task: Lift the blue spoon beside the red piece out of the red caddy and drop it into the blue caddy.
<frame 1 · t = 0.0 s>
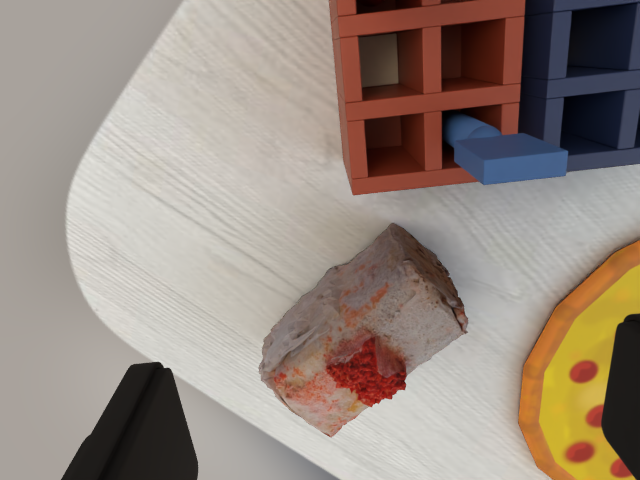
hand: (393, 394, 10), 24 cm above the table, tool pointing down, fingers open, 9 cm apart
red caddy: (402, 57, 29), on the table
blue caddy: (561, 39, 29), on the table
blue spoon: (437, 118, 30), point 1 cm above the table, touching red caddy
food item: (353, 295, 36), on the table
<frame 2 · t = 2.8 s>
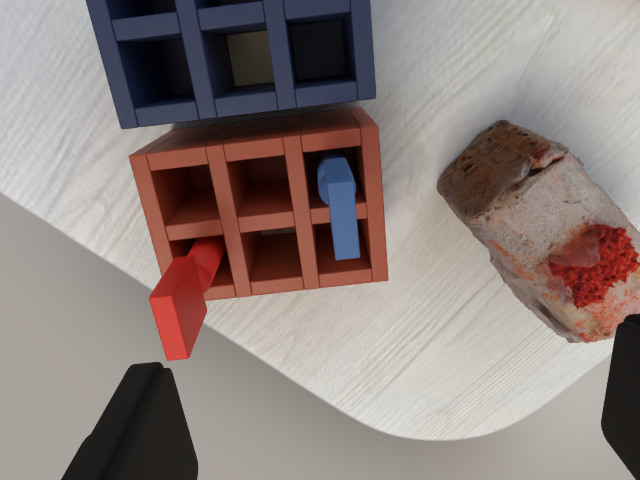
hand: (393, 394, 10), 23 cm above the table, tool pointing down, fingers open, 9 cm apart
red caddy: (275, 182, 32), on the table
red piece: (223, 219, 32), point 1 cm above the table, touching red caddy
blue caddy: (250, 24, 28), on the table
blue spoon: (329, 150, 30), point 1 cm above the table, touching red caddy
food item: (518, 214, 33), on the table
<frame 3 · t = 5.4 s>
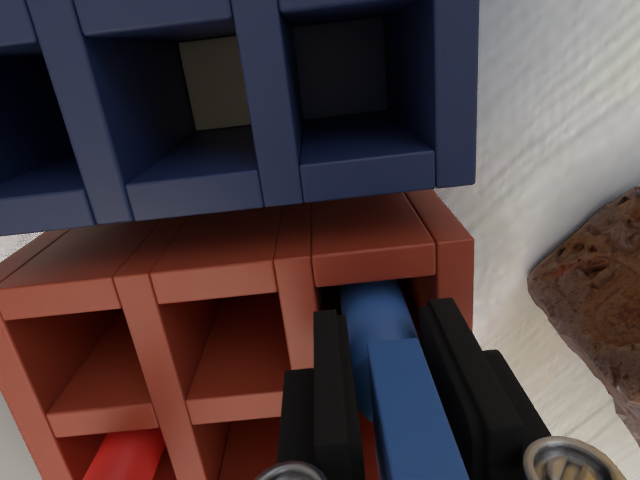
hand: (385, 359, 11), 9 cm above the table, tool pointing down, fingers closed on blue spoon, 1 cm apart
red caddy: (267, 277, 20), on the table
red piece: (183, 335, 20), point 1 cm above the table, touching red caddy
blue caddy: (223, 22, 16), on the table
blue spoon: (355, 233, 18), point 1 cm above the table, touching gripper, red caddy
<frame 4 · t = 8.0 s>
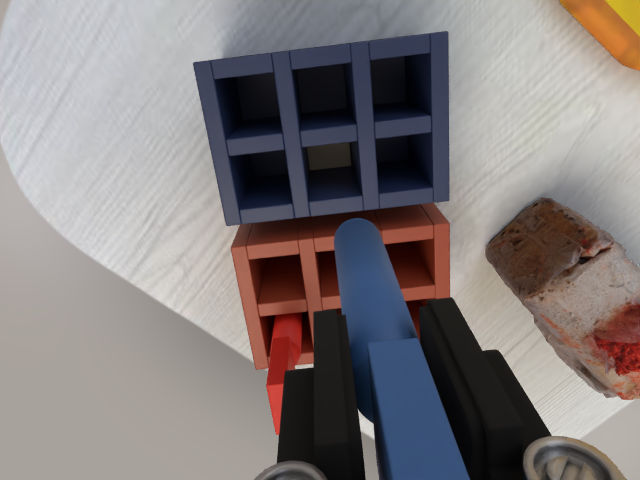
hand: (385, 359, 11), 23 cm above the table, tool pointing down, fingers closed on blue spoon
red caddy: (339, 249, 35), on the table
red piece: (291, 282, 35), point 1 cm above the table, touching red caddy
blue caddy: (324, 115, 31), on the table
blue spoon: (355, 233, 18), point 15 cm above the table, touching gripper
food item: (557, 276, 37), on the table
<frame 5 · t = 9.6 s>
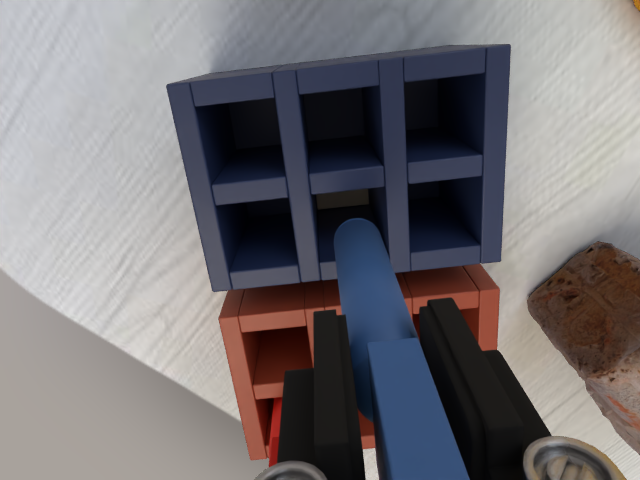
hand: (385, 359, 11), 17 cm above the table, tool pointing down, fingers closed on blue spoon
red caddy: (351, 300, 29), on the table
red piece: (294, 339, 30), point 1 cm above the table, touching red caddy
blue caddy: (336, 143, 26), on the table
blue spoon: (355, 232, 18), point 9 cm above the table, touching gripper
food item: (610, 330, 31), on the table
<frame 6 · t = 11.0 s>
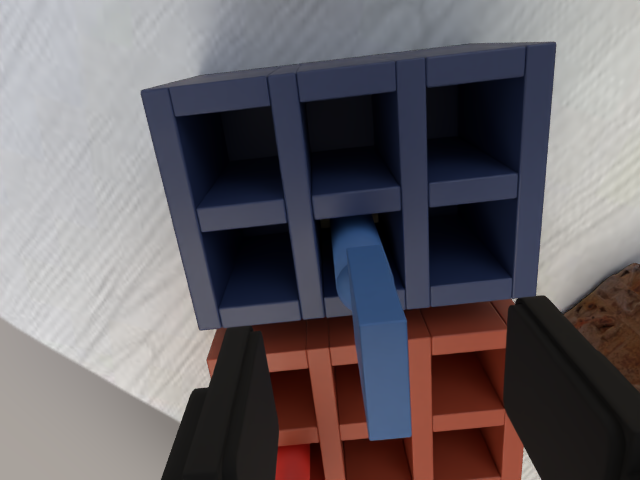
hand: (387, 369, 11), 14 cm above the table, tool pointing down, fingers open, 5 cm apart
red caddy: (358, 326, 27), on the table
red piece: (294, 369, 27), point 1 cm above the table, touching red caddy
blue caddy: (342, 154, 23), on the table
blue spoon: (346, 198, 23), point 1 cm above the table, touching blue caddy
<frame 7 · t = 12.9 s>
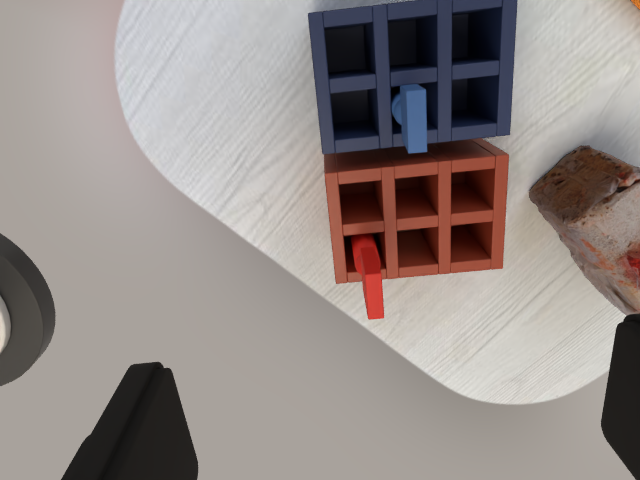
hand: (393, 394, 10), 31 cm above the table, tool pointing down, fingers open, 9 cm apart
red caddy: (400, 191, 41), on the table
red piece: (358, 219, 41), point 1 cm above the table, touching red caddy
blue caddy: (395, 70, 37), on the table
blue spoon: (397, 97, 36), point 1 cm above the table, touching blue caddy
food item: (590, 219, 42), on the table
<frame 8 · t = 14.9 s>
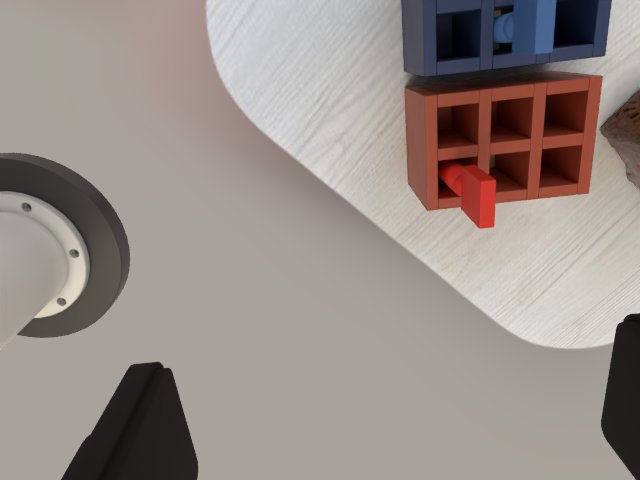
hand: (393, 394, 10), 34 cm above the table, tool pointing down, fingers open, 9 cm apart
red caddy: (476, 129, 42), on the table
red piece: (435, 157, 42), point 1 cm above the table, touching red caddy
blue caddy: (478, 6, 38), on the table
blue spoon: (481, 32, 38), point 1 cm above the table, touching blue caddy
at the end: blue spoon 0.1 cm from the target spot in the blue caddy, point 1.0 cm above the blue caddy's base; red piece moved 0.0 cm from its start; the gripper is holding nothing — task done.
